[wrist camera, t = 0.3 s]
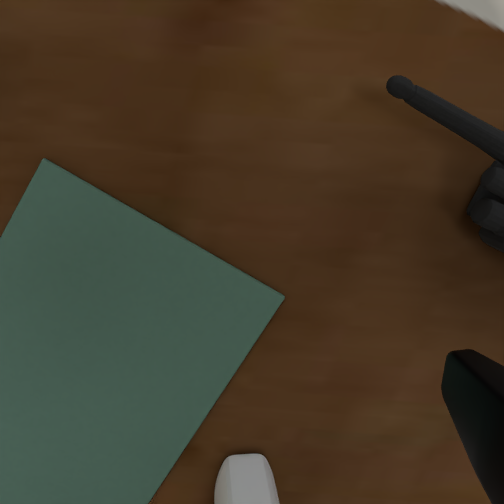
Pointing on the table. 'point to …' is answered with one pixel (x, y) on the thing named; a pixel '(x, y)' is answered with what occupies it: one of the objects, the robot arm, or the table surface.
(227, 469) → the eye dropper bottle
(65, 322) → the mat
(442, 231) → the table surface
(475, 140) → the walkie-talkie
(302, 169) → the table surface
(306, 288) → the table surface
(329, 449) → the table surface
